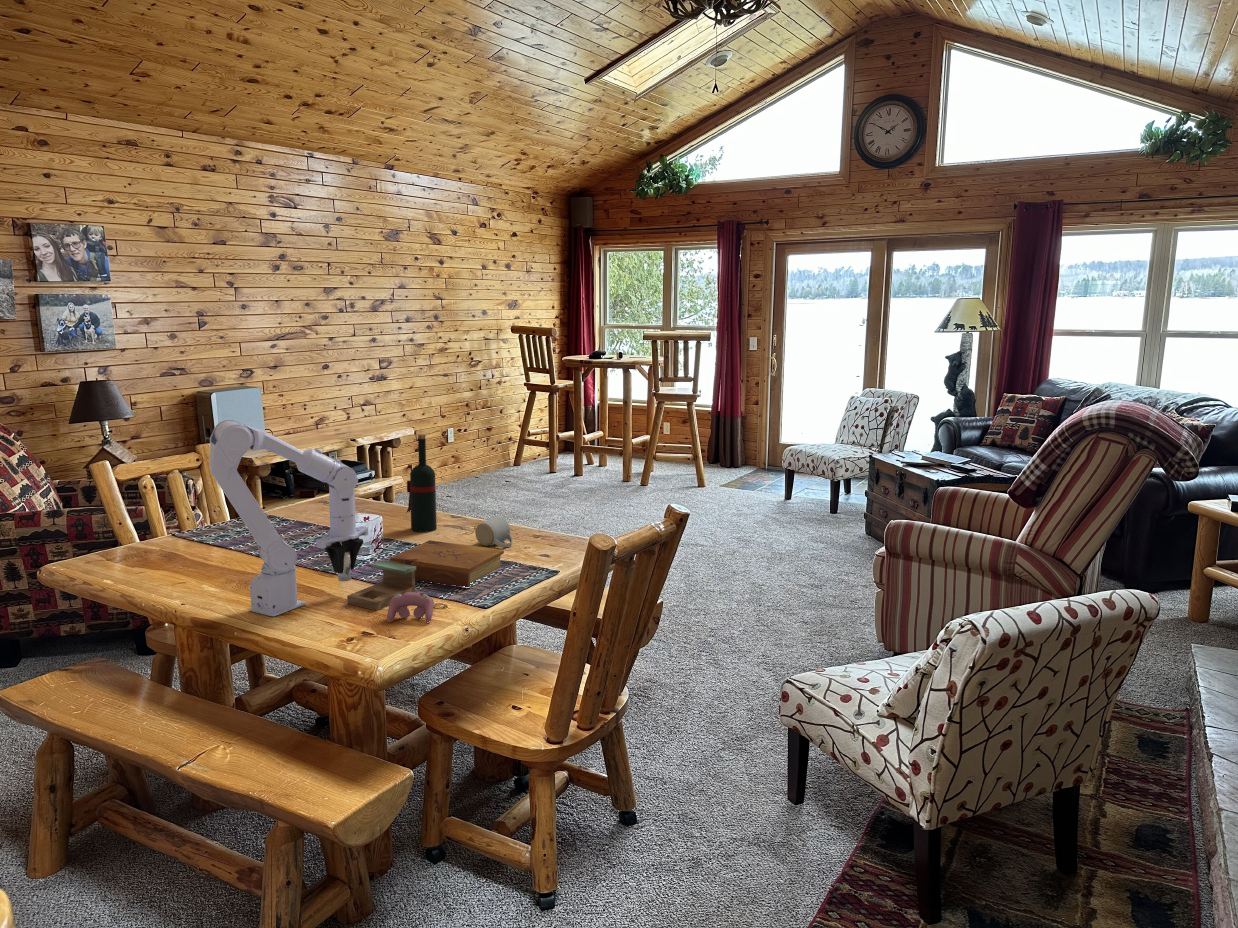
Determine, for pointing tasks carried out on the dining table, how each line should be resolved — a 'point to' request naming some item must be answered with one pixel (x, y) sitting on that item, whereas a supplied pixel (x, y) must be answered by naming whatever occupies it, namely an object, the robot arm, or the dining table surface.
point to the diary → (450, 562)
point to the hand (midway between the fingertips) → (344, 570)
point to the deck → (385, 586)
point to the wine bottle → (422, 493)
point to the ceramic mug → (494, 532)
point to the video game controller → (411, 599)
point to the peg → (346, 568)
